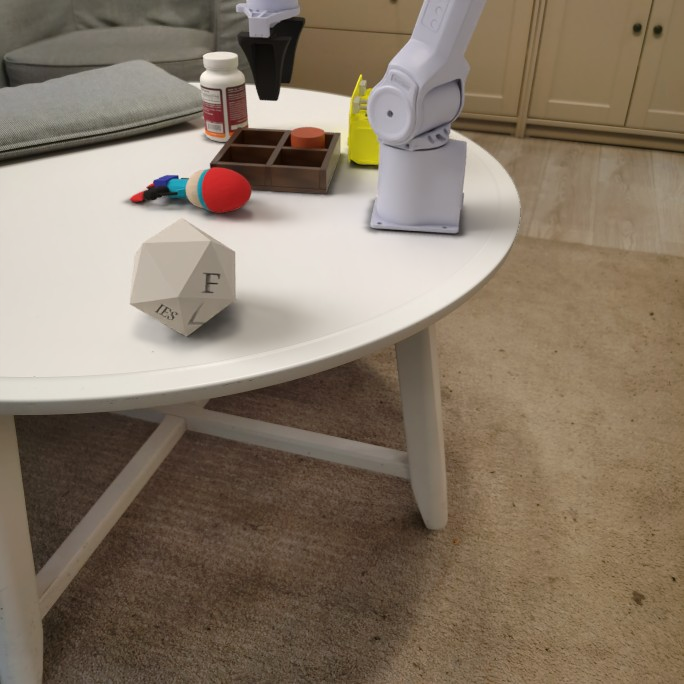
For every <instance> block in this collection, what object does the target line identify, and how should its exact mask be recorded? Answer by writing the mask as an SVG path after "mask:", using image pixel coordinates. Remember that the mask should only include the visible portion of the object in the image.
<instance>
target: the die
mask: <svg viewBox="0 0 684 684" xmlns="http://www.w3.org/2000/svg"><path fill="white" fill-rule="evenodd" d="M132 265H133V266H132V273H131V274H132V276H131V285H130V295H129V296H130V297H129V305H131V306H132V307H134V308H136V309H137V310H139V311H141V312H142V313H145V314H146V315H148V316H149V317H151V318H153V319H154V320H156V321H159V322H160V323H161V324H163V325H165V326H166V327H169V328H171V329H172V330H174V331H175V332H177V333H179V334H181V335H183V336H184V337H186V338H187V337H188V336H190V335H191V334H192V333H194V332H195V331H196V330H198V329H199V328H200V327H202V326H203V325H204V324H206V323H207V322H208V321H210V320H211V319H212V318H214V317H215V316H216V315H218V313H220V312H221V311H223V310H224V309H225V308H227V307H228V306H229V305H231V304H232V303H234V302H235V301H236V300H237V299H236V298H237V297H236V295H237V294H236V293H237V292H236V291H237V289H236V288H237V287H236V285H237V283H236V279H237V278H236V276H237V275H236V250H235V251H234V250H233V249H232V248H230V247H228V246H227V245H225V244H224V243H222V242H221V241H219V240H218V239H216V238H215V237H213V236H211V235H210V234H208V233H207V232H205V231H204V230H202V229H200V228H199V227H197V226H195V225H194V224H192V223H191V222H189V221H188V220H186V219H184V218H183V217H180V218H179V219H178V220H176V221H175V222H173V223H172V224H170V225H168V226H167V227H165V228H164V229H162V230H161V231H159V232H158V233H156V234H154V235H153V236H151V237H150V238H147V240H145V241H144V242H142V243H141V244H140V247H139V248H138V249H137V251H136V252H135V254H134V256H133V264H132Z"/></svg>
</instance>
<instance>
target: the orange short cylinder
mask: <svg viewBox="0 0 684 684" xmlns="http://www.w3.org/2000/svg"><path fill="white" fill-rule="evenodd" d="M291 130H292V131H291V147H302V148H320V149H325V132H326V131H325V130H324V129H323V128H319V127H313V126H303V127H296V128H293V129H291Z"/></svg>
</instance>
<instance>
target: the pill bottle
mask: <svg viewBox="0 0 684 684" xmlns="http://www.w3.org/2000/svg"><path fill="white" fill-rule="evenodd" d="M202 61H203V62H202V63H203V67H204V68H205V71H203V72H202V73H201V75H200V76H199V84H200V94H201V104H202V113H203V123H204V132H205V136H206V138H208V140H211V141H213V142H219V143H226V142H227V141H228V140H229V138H230V137H231V136H232V134H233V133H234V132H235V131H236V129H237V128H238V127H242V128H250V127H249V115H248V105H247V104H248V103H247V102H248V100H247V88H246V78H245V74H244V73H243V71H241V70H239V69H238V67H239V55H238V54H237V53H235V52H230V51H212V52H208V53H205V54H203V55H202Z"/></svg>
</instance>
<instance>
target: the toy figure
mask: <svg viewBox="0 0 684 684" xmlns="http://www.w3.org/2000/svg"><path fill="white" fill-rule="evenodd" d="M145 188H146V189H145V190H143V191H139V192H137V193H135V194H134V195H132V196H131V197H130V198H129V201H130V202H134V203H137V202H143V200H146V201H152V202H153V201H156V200H157V199H162V198H163V197H168V198H170V199H188V201H189V202H190V203H191V204H192V205H193V206H194V207H197V208H200V209H205V210H207V211H209V212H212V213H218V214H219V213H221V214H222V213H229V212H234V211H235V210H238V209H240V208H242V207H244V205H246V204H247V203H248V202H249V200H250V199H251V196H252V190H251V186H250V184H249V182H248V181H247V180H246V178H244V177H243V176H242V175H241V174H239V173H237V172H235V171H233V170H230V169H226V168H218V167H213V168H211V169H210V168H207V169H206V168H205V169H200V170H198V171H196V172H194V173H193V174H192V175H191V176H190V177H181V178H180V176H179V175H178V174H165V175H163V176H160V177H157V178H156V179H153V181H152V183H150V184H148V185H147V186H146V187H145Z"/></svg>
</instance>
